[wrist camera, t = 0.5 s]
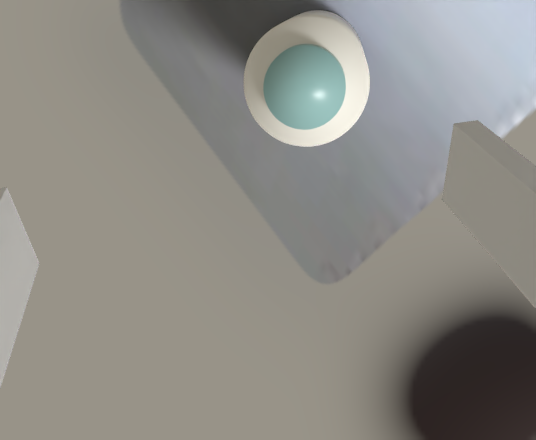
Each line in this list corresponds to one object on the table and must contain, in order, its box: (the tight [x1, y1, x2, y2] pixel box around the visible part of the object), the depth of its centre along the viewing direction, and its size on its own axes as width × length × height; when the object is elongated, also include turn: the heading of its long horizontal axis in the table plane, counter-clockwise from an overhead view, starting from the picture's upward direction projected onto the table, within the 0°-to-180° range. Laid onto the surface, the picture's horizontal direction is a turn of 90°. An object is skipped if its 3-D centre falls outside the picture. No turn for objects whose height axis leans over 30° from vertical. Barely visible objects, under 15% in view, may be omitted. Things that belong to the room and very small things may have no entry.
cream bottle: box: [244, 10, 370, 147], centre depth 32 cm, size 7×7×12 cm
